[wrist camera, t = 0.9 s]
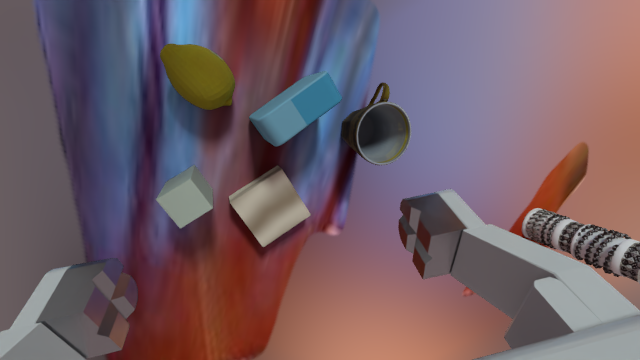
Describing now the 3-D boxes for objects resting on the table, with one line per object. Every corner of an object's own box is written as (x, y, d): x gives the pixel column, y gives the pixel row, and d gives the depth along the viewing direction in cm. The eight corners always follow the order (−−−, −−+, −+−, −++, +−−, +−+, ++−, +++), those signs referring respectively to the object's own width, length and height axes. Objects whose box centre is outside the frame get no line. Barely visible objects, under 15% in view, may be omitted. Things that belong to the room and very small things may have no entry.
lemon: (245, 91, 49) (251, 88, 42) (209, 122, 48) (208, 126, 41) (194, 31, 45) (191, 17, 37) (153, 65, 44) (141, 57, 37)
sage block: (166, 181, 48) (156, 199, 39) (194, 164, 49) (190, 178, 40) (186, 205, 50) (180, 228, 41) (212, 189, 51) (212, 208, 42)
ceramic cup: (377, 155, 60) (407, 165, 51) (330, 155, 56) (353, 165, 47) (384, 87, 57) (417, 84, 48) (335, 82, 54) (361, 78, 44)
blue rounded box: (263, 139, 52) (277, 148, 41) (247, 117, 50) (257, 120, 39) (318, 99, 53) (346, 97, 42) (304, 76, 52) (329, 68, 41)
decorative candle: (526, 245, 81) (649, 301, 59) (516, 222, 78) (643, 271, 55) (549, 224, 83) (679, 270, 60) (540, 199, 79) (674, 238, 56)
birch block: (228, 195, 52) (230, 202, 49) (277, 164, 54) (282, 169, 50) (259, 238, 56) (263, 247, 52) (304, 207, 58) (310, 214, 54)
